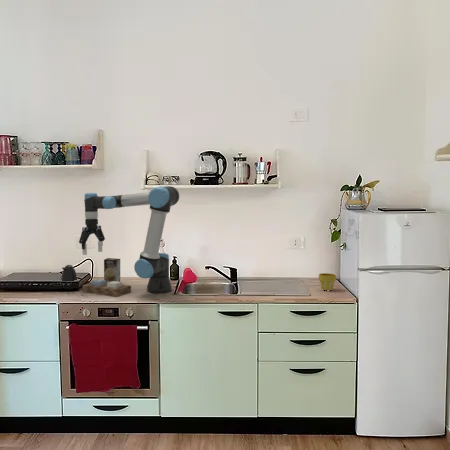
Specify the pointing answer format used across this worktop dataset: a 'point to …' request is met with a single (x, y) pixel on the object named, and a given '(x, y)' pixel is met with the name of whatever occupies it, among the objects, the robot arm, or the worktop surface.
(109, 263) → the coffee box
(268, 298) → the worktop surface
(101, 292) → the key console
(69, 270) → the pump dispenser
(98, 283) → the blue key
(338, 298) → the worktop surface
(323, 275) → the plant pot
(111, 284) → the white key
